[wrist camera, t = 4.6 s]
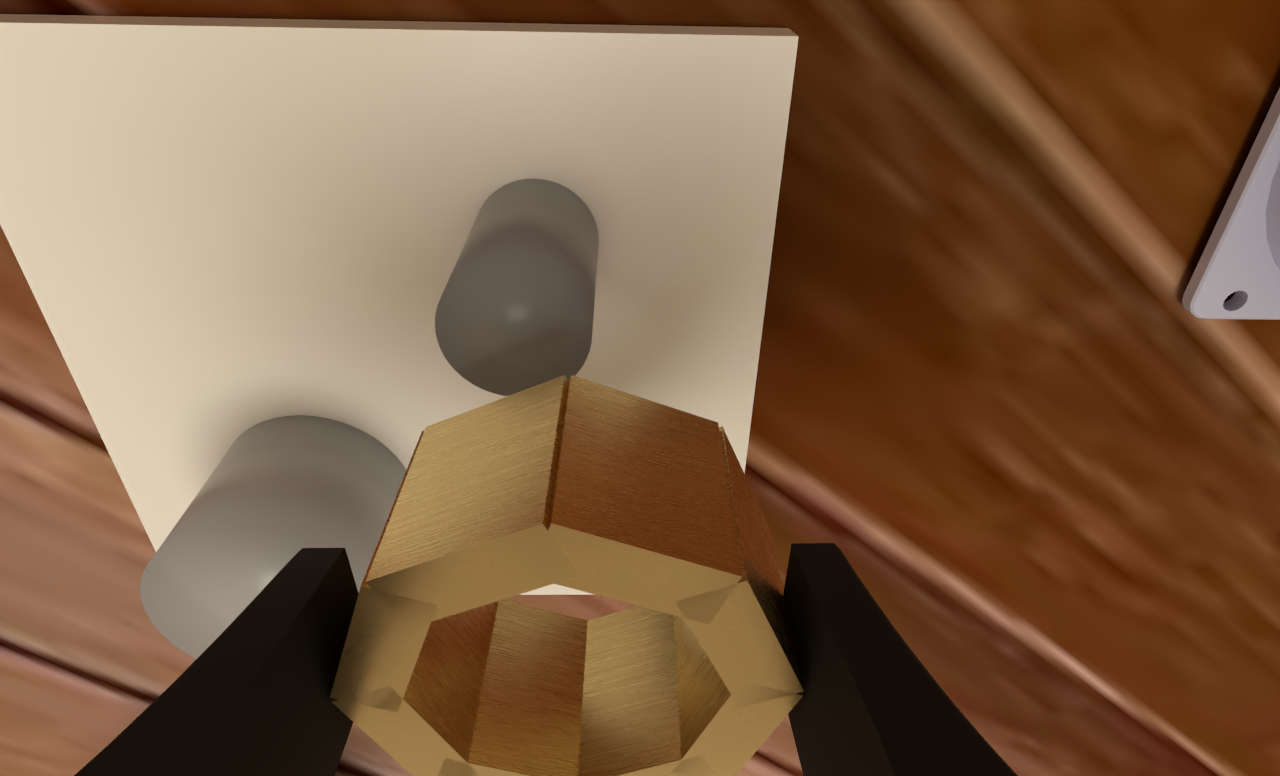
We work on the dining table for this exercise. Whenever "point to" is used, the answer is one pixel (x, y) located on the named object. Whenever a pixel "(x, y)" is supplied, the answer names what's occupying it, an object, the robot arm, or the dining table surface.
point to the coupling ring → (579, 559)
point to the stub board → (374, 251)
